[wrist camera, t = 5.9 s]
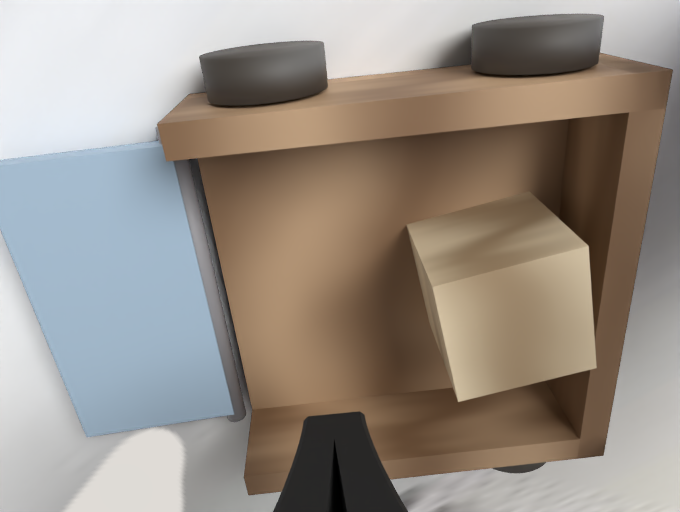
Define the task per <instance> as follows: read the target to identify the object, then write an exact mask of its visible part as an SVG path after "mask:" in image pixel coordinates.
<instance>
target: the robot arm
mask: <svg viewBox="0 0 680 512" xmlns="http://www.w3.org/2000/svg"><path fill="white" fill-rule="evenodd" d="M273 512H408V511H407V509H406V507H405V506H404V504H403V502H402V501H401V499H400V497H399V495H398V494H397V492H396V490H395V488H394V486H393V484H392V482H391V480H390V478H389V476H388V474H387V473H386V471H385V469H384V467H383V464H382V462H381V460H380V458H379V456H378V453H377V451H376V449H375V446H374V444H373V441H372V439H371V436H370V433H369V430H368V427H367V423H366V419H365V415H364V414H363V413H361V412H360V411H358V412H347V413H337V414H327V415H316V416H308V417H307V418H306V419H305V420H304V422H303V428H302V432H301V437H300V440H299V444H298V447H297V451H296V454H295V457H294V460H293V463H292V466H291V469H290V471H289V474H288V477H287V479H286V482H285V485H284V487H283V490H282V492H281V495H280V497H279V500H278V502H277V504H276V506H275V509H274V511H273Z"/></svg>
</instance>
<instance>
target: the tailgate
mask: <svg viewBox="0 0 680 512" xmlns="http://www.w3.org/2000/svg"><path fill="white" fill-rule="evenodd" d="M156 132H157V136H158V140H159V141H154V142H145V143H137V144H129V145H120V146H112V147H104V148H96V149H87V150H79V151H71V152H62V153H54V154H46V155H38V156H29V157H21V158H13V159H4V160H0V230H1V232H2V234H3V237H4V239H5V242H6V244H7V246H8V249H9V251H10V254H11V256H12V258H13V261H14V263H15V266H16V268H17V271H18V273H19V275H20V278H21V280H22V283H23V285H24V287H25V290H26V292H27V295H28V297H29V299H30V302H31V304H32V307H33V309H34V312H35V314H36V316H37V319H38V321H39V324H40V326H41V328H42V331H43V333H44V336H45V338H46V340H47V343H48V345H49V348H50V350H51V352H52V355H53V357H54V360H55V362H56V365H57V367H58V369H59V372H60V374H61V377H62V379H63V381H64V384H65V386H66V389H67V391H68V393H69V396H70V398H71V401H72V403H73V405H74V408H75V410H76V413H77V415H78V418H79V420H80V422H81V425H82V427H83V430H84V432H85V434H86V437H92V436H98V435H105V434H111V433H118V432H124V431H131V430H137V429H143V428H150V427H156V426H163V425H169V424H176V423H182V422H189V421H195V420H201V419H208V418H214V417H221V416H227V418H228V420H229V421H231V422H237V421H240V420H242V419H243V418H244V417H245V416H246V410H245V406H244V401H243V397H242V392H241V388H240V384H239V379H238V375H237V370H236V366H235V361H234V357H233V353H232V348H231V344H230V339H229V335H228V330H227V326H226V322H225V317H224V313H223V308H222V304H221V300H220V295H219V291H218V286H217V282H216V277H215V273H214V269H213V264H212V260H211V255H210V251H209V246H208V242H207V238H206V233H205V229H204V224H203V220H202V216H201V211H200V207H199V202H198V198H197V193H196V189H195V185H194V180H193V176H192V171H191V167H190V162H189V159H185V160H176V161H166V158H165V154H164V150H163V146H162V142H161V138H160V134H159V130H158V127H156Z"/></svg>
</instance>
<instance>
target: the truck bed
mask: <svg viewBox="0 0 680 512" xmlns="http://www.w3.org/2000/svg"><path fill="white" fill-rule="evenodd" d="M603 21H604V16H603V15H597V14H555V15H538V16H526V17H515V18H506V19H498V20H491V21H486V22H481V23H477V24H474V25H472V52H471V65H462V66H452V67H443V68H433V69H424V70H414V71H405V72H395V73H386V74H376V75H367V76H357V77H348V78H338V79H329V80H327V71H326V61H325V50H324V43H323V42H320V41H290V42H277V43H266V44H257V45H249V46H242V47H235V48H229V49H224V50H219V51H214V52H210V53H206V54H203V55H201V56H200V57H199V59H200V64H201V69H202V74H203V79H204V84H205V89H206V92H205V93H195V94H189V95H188V96H187V97H186V98H185V99H183V100H182V101H181V102H180V103H179V104H178V105H177V106H176V107H175V108H174V109H173V110H172V111H171V112H170V113H168V114H167V115H166V116H165V117H164V118H163V119H162V120H161V121H160V122H159V123H158V124H157V126H158V130H159V134H160V138H161V142H162V146H163V150H164V154H165V158H166V161H176V160H185V159H195V158H197V159H198V163H199V168H200V173H201V177H202V182H203V186H204V191H205V195H206V200H207V205H208V209H209V214H210V218H211V223H212V228H213V232H214V237H215V241H216V246H217V250H218V255H219V260H220V264H221V269H222V273H223V278H224V282H225V287H226V292H227V296H228V301H229V305H230V310H231V314H232V319H233V324H234V328H235V333H236V337H237V342H238V346H239V351H240V356H241V360H242V365H243V369H244V374H245V379H246V383H247V388H248V392H249V397H250V401H251V406H252V416H251V424H250V432H249V440H248V448H247V456H246V464H245V471H244V479H245V483H246V487H247V491H248V495H255V494H264V493H273V492H282V490H283V487H284V485H285V482H286V479H287V477H288V474H289V471H290V469H291V466H292V463H293V460H294V457H295V454H296V451H297V447H298V444H299V440H300V437H301V432H302V428H303V422H304V420H305V419H306V418H307V417H308V416H316V415H327V414H337V413H347V412H358V411H360V412H361V413H363V414H364V415H365V419H366V423H367V427H368V430H369V433H370V436H371V439H372V441H373V444H374V446H375V449H376V451H377V453H378V456H379V458H380V460H381V462H382V464H383V467H384V469H385V471H386V473H387V474H388V476H389V478H390V479H398V478H407V477H416V476H425V475H434V474H443V473H452V472H461V471H470V470H479V469H488V468H493V469H496V470H498V471H502V472H508V473H525V472H530V471H533V470H536V469H538V468H540V467H541V466H543V465H544V464H545V463H546V462H551V461H559V460H568V459H577V458H586V457H595V456H603V455H604V449H605V444H606V438H607V433H608V427H609V422H610V416H611V411H612V405H613V400H614V394H615V388H616V383H617V377H618V372H619V366H620V361H621V355H622V350H623V344H624V338H625V333H626V327H627V322H628V316H629V311H630V305H631V300H632V294H633V289H634V283H635V277H636V272H637V266H638V261H639V255H640V250H641V244H642V239H643V233H644V227H645V222H646V216H647V211H648V205H649V200H650V194H651V189H652V183H653V178H654V172H655V166H656V161H657V155H658V150H659V144H660V139H661V133H662V128H663V122H664V116H665V111H666V105H667V100H668V94H669V89H670V83H671V78H672V72H673V70H672V69H668V68H663V67H659V66H655V65H650V64H646V63H642V62H637V61H633V60H629V59H624V58H620V57H616V56H611V55H607V54H603V53H600V46H601V37H602V29H603ZM528 191H530V192H531V193H532V194H533V195H534V196H535V197H536V198H537V199H538V200H539V201H540V202H542V203H543V204H544V205H545V206H546V207H547V208H548V209H549V210H550V211H551V212H552V213H553V214H555V215H556V216H557V217H558V218H559V219H560V220H561V221H562V222H563V223H564V224H565V225H566V226H568V227H569V228H570V229H571V230H572V231H573V232H574V233H575V234H576V235H577V236H578V237H579V238H581V239H582V240H583V241H584V242H585V243H586V244H587V245H588V246H589V259H590V275H591V290H592V305H593V321H594V336H595V351H596V366H597V368H595V369H591V370H586V371H582V372H578V373H574V374H570V375H566V376H562V377H558V378H554V379H550V380H546V381H542V382H538V383H534V384H530V385H526V386H521V387H517V388H513V389H509V390H505V391H501V392H497V393H493V394H489V395H485V396H481V397H477V398H473V399H469V400H465V401H460V402H458V400H457V397H456V394H455V392H454V389H453V386H452V383H451V381H450V378H449V375H448V372H447V370H446V367H445V364H444V362H443V359H442V356H441V353H440V351H439V348H438V345H437V342H436V340H435V337H434V334H433V331H432V329H431V326H430V323H429V318H428V314H427V310H426V306H425V302H424V297H423V293H422V289H421V285H420V280H419V276H418V272H417V268H416V263H415V259H414V255H413V251H412V246H411V242H410V238H409V234H408V230H407V224H411V223H414V222H418V221H422V220H425V219H429V218H433V217H436V216H440V215H444V214H447V213H451V212H455V211H458V210H462V209H466V208H470V207H473V206H477V205H481V204H484V203H488V202H492V201H495V200H499V199H503V198H506V197H510V196H514V195H517V194H521V193H525V192H528Z"/></svg>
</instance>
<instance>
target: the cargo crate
mask: <svg viewBox="0 0 680 512" xmlns="http://www.w3.org/2000/svg"><path fill="white" fill-rule="evenodd" d="M407 230H408V234H409V238H410V242H411V246H412V251H413V255H414V259H415V263H416V268H417V272H418V276H419V280H420V285H421V289H422V293H423V297H424V302H425V306H426V310H427V314H428V318H429V323H430V326H431V329H432V331H433V334H434V337H435V340H436V342H437V345H438V348H439V351H440V353H441V356H442V359H443V362H444V364H445V367H446V370H447V372H448V375H449V378H450V381H451V383H452V386H453V389H454V392H455V394H456V397H457V400H458V402H460V401H465V400H469V399H473V398H477V397H481V396H485V395H489V394H493V393H497V392H501V391H505V390H509V389H513V388H517V387H521V386H526V385H530V384H534V383H538V382H542V381H546V380H550V379H554V378H558V377H562V376H566V375H570V374H574V373H578V372H582V371H586V370H591V369H595V368H597V366H596V351H595V336H594V321H593V305H592V290H591V275H590V259H589V246H588V245H587V244H586V243H585V242H584V241H583V240H582V239H581V238H579V237H578V236H577V235H576V234H575V233H574V232H573V231H572V230H571V229H570V228H569V227H568V226H566V225H565V224H564V223H563V222H562V221H561V220H560V219H559V218H558V217H557V216H556V215H555V214H553V213H552V212H551V211H550V210H549V209H548V208H547V207H546V206H545V205H544V204H543V203H542V202H540V201H539V200H538V199H537V198H536V197H535V196H534V195H533V194H532V193H531V192H530V191H528V192H525V193H521V194H517V195H514V196H510V197H506V198H503V199H499V200H495V201H492V202H488V203H484V204H481V205H477V206H473V207H470V208H466V209H462V210H458V211H455V212H451V213H447V214H444V215H440V216H436V217H433V218H429V219H425V220H422V221H418V222H414V223H411V224H407Z"/></svg>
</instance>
